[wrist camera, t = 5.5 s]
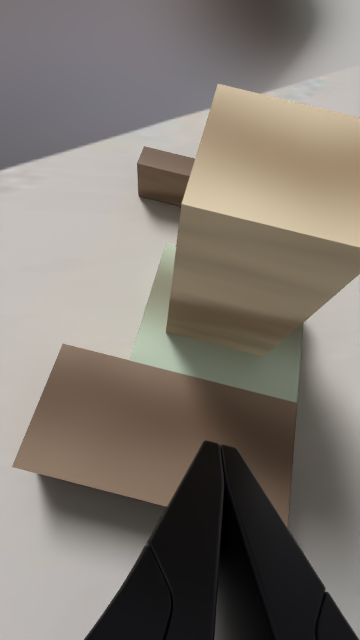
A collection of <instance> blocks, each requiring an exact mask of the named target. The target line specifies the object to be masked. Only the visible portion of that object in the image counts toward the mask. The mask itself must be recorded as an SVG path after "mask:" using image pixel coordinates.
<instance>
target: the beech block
mask: <svg viewBox="0 0 360 640" xmlns="http://www.w3.org/2000/svg"><path fill="white" fill-rule="evenodd" d="M359 274H360V118H359V117H355V116H351V115H346V114H342V113H338V112H334V111H330V110H325V109H321V108H317V107H313V106H309V105H304V104H300V103H296V102H292V101H288V100H284V99H279V98H275V97H271V96H267V95H263V94H258V93H254V92H250V91H246V90H242V89H237V88H233V87H229V86H224V85H220V84H218V86H217V89H216V93H215V96H214V99H213V103H212V106H211V109H210V112H209V115H208V119H207V122H206V125H205V129H204V132H203V135H202V138H201V142H200V145H199V148H198V152H197V155H196V158H195V161H194V165H193V168H192V171H191V175H190V178H189V181H188V184H187V188H186V191H185V194H184V198H183V201H182V204H181V212H180V221H179V229H178V237H177V245H176V253H175V261H174V269H173V277H172V285H171V293H170V301H169V310H168V318H167V326H166V333H170V334H174V335H178V336H182V337H186V338H190V339H194V340H198V341H202V342H206V343H210V344H214V345H218V346H222V347H226V348H230V349H234V350H238V351H242V352H246V353H250V354H254V355H258V356H262V357H264V356H265V355H267V354H268V353H269V352H270V351H271V350H272V349H273V348H275V347H276V346H277V345H278V344H279V343H280V342H281V341H283V340H284V339H285V338H286V337H287V336H288V335H290V334H291V333H292V332H293V331H294V330H295V329H296V328H298V327H299V326H300V325H301V324H302V323H303V322H305V321H306V320H307V319H308V318H309V317H310V316H311V315H313V314H314V313H315V312H316V311H317V310H318V309H320V308H321V307H322V306H323V305H324V304H325V303H326V302H328V301H329V300H330V299H331V298H332V297H333V296H335V295H336V294H337V293H338V292H339V291H340V290H341V289H343V288H344V287H345V286H346V285H347V284H348V283H350V282H351V281H352V280H353V279H354V278H355V277H356V276H358V275H359Z"/></svg>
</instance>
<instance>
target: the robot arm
mask: <svg viewBox="0 0 360 640" xmlns="http://www.w3.org/2000/svg"><path fill="white" fill-rule="evenodd" d="M325 590H326V589H325V586H324V585H323V583H322V581H321V580H320V578H319V577H318V575H317V574H316V572H315V570H314V569H313V567H312V566H311V564H310V563H309V561H308V559H307V558H306V556H305V555H304V553H303V552H302V550H301V548H300V547H299V545H298V544H297V542H296V541H295V539H294V537H293V536H292V534H291V533H290V531H289V530H288V528H287V526H286V525H285V523H284V522H283V520H282V519H281V517H280V515H279V514H278V512H277V511H276V509H275V508H274V506H273V504H272V503H271V501H270V500H269V498H268V497H267V495H266V493H265V492H264V490H263V489H262V487H261V486H260V484H259V482H258V481H257V479H256V478H255V476H254V475H253V473H252V471H251V470H250V468H249V467H248V465H247V464H246V462H245V460H244V459H243V457H242V456H241V454H240V453H239V451H238V450H237V449H236V448H235V447H231V446H227V445H223V444H222V445H219V444H218V443H216V442H212V441H208V440H205V441H203V443H202V445H201V446H200V448H199V450H198V452H197V454H196V455H195V457H194V459H193V461H192V463H191V464H190V466H189V468H188V470H187V472H186V473H185V475H184V477H183V479H182V481H181V482H180V484H179V486H178V488H177V490H176V491H175V493H174V495H173V497H172V499H171V500H170V502H169V504H168V506H167V508H166V509H165V511H164V513H163V515H162V517H161V518H160V520H159V522H158V524H157V526H156V527H155V529H154V531H153V533H152V535H151V536H150V538H149V540H148V542H147V545H146V546H145V547H144V549H143V550H142V552H141V554H140V556H139V558H138V559H137V561H136V563H135V565H134V566H133V568H132V570H131V571H130V573H129V575H128V576H127V578H126V580H125V581H124V583H123V585H122V586H121V588H120V589H119V591H118V592H117V594H116V595H115V597H114V598H113V600H112V601H111V603H110V604H109V605H108V607H107V608H106V610H105V611H104V613H103V614H102V616H101V617H100V618H99V620H98V621H97V623H96V624H95V625H94V627H93V628H92V629H91V631H90V632H89V634H88V635H87V636H86V638H85V639H84V640H359V638H358V637H357V635H356V634H355V632H354V631H353V629H352V628H351V626H350V625H349V623H348V622H347V620H346V619H345V617H344V616H343V614H342V613H341V611H340V609H339V608H338V606H337V605H336V603H335V602H334V600H333V598H332V597H331V595H330V594H329V593H328V592H325Z"/></svg>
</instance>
